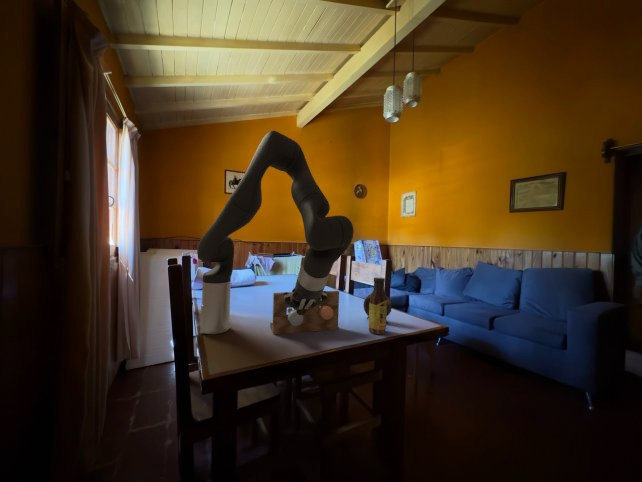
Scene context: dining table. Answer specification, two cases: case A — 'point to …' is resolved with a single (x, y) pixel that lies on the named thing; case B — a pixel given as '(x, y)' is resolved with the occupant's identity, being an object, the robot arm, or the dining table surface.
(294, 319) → the slate button
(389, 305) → the alarm clock
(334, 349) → the dining table surface
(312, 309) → the walnut panel
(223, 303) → the robot arm
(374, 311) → the sauce bottle
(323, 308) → the terracotta button
